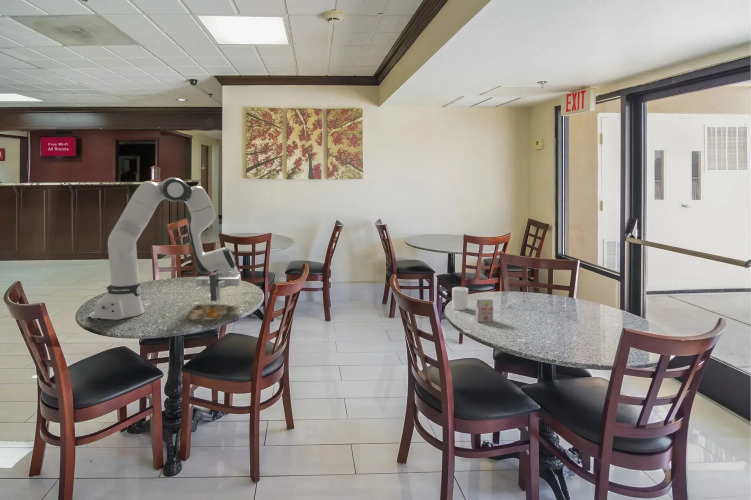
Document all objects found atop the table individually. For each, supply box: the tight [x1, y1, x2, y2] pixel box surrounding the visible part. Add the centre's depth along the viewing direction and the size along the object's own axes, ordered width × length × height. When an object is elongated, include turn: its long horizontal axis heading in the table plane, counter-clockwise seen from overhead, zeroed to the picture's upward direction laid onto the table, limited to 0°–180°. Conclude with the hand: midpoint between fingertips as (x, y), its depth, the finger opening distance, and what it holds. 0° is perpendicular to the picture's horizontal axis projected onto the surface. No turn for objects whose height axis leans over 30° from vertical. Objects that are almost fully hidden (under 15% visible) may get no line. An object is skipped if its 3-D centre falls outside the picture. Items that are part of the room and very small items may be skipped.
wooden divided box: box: [188, 304, 228, 320], centre depth 212 cm, size 14×12×5 cm
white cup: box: [451, 286, 469, 311], centre depth 227 cm, size 8×8×10 cm
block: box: [208, 272, 221, 302], centre depth 211 cm, size 2×5×12 cm, turn 2°
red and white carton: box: [475, 299, 494, 324], centre depth 207 cm, size 4×7×10 cm, turn 95°
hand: (213, 284), depth 210 cm, fingers closed on block, 2 cm apart
